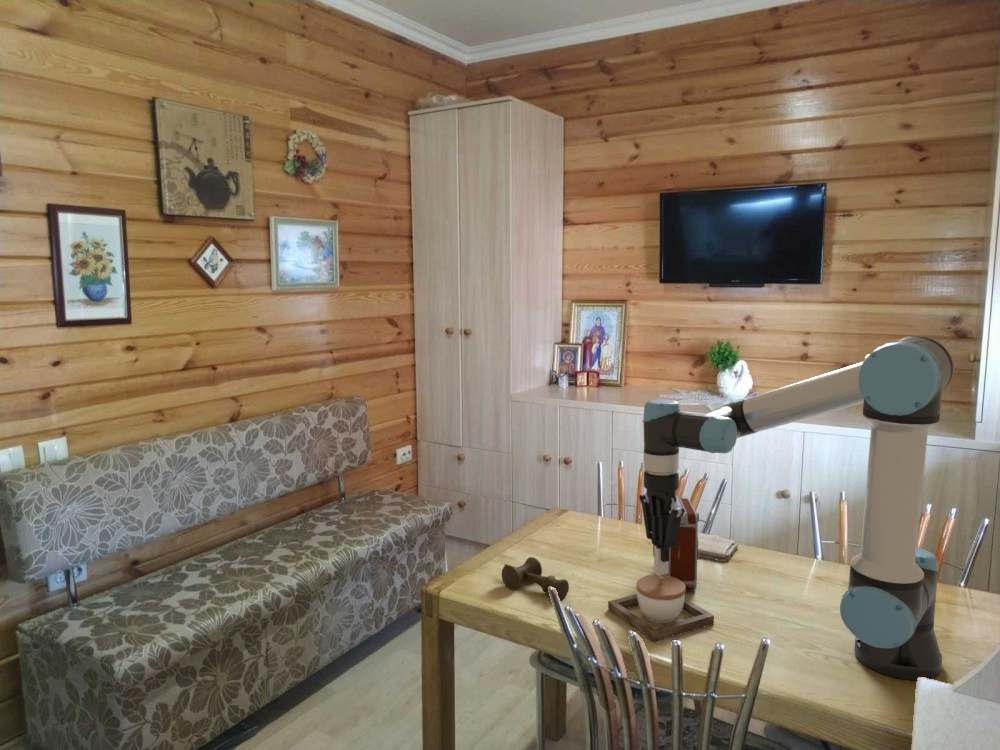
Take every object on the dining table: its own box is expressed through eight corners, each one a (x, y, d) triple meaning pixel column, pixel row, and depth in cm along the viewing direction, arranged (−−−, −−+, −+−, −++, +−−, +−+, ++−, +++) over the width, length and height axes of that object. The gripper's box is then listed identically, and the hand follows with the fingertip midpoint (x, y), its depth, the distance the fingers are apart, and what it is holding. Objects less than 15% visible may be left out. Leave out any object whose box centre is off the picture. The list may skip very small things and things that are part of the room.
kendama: (549, 608, 168) (490, 581, 182) (576, 596, 175) (517, 570, 189) (550, 584, 167) (491, 558, 181) (576, 572, 174) (517, 548, 188)
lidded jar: (633, 625, 158) (634, 585, 157) (638, 603, 168) (638, 565, 167) (684, 631, 155) (684, 590, 154) (686, 608, 165) (686, 570, 164)
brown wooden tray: (713, 624, 158) (713, 615, 158) (652, 642, 151) (652, 633, 151) (665, 594, 173) (666, 586, 172) (608, 609, 166) (608, 601, 165)
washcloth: (728, 564, 190) (728, 553, 189) (662, 551, 199) (662, 541, 199) (739, 549, 200) (739, 538, 199) (676, 537, 209) (676, 527, 209)
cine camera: (689, 561, 191) (690, 488, 188) (702, 594, 172) (703, 513, 169) (654, 560, 192) (654, 488, 189) (663, 593, 173) (663, 513, 170)
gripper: (694, 475, 152) (694, 580, 156) (656, 461, 164) (656, 559, 167) (666, 480, 149) (666, 588, 153) (629, 466, 161) (629, 566, 164)
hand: (661, 573), depth 160 cm, fingers closed
